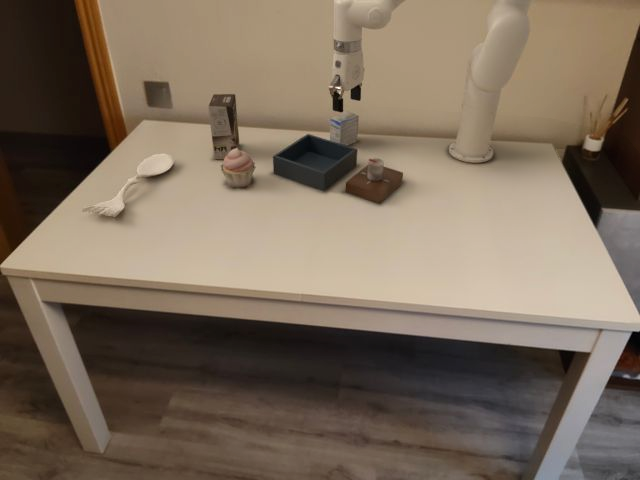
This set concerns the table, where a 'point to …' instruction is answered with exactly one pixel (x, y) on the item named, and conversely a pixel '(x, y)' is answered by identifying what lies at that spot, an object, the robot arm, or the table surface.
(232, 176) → the cupcake
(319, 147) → the open box
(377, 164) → the tap knob
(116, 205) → the spoon
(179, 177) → the table surface
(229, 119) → the coffee box
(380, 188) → the panel
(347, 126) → the medicine box
